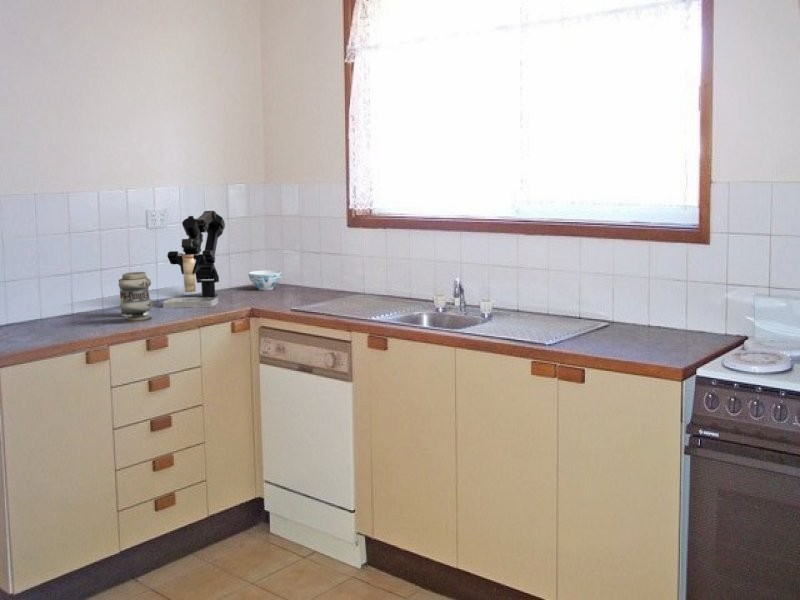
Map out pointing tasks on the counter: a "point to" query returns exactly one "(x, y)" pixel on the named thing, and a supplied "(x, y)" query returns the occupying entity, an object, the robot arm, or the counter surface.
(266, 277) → the chinaware
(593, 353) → the counter surface
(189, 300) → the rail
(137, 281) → the apothecary jar
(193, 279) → the peg
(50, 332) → the counter surface
